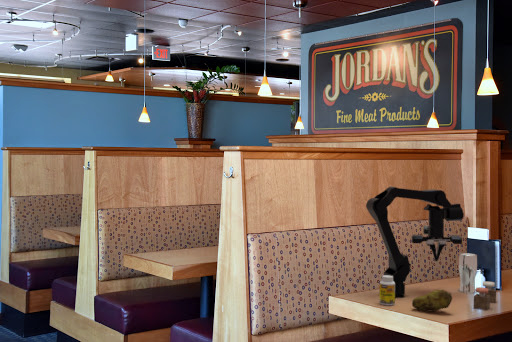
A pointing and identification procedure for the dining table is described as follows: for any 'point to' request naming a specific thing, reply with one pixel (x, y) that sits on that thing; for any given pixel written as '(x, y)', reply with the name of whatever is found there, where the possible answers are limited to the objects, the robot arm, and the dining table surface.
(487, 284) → the ivory key
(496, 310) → the dining table surface
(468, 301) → the dining table surface
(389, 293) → the supplement bottle
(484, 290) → the red rounded knob
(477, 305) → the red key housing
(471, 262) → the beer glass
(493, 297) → the ivory key housing
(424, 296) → the potato
